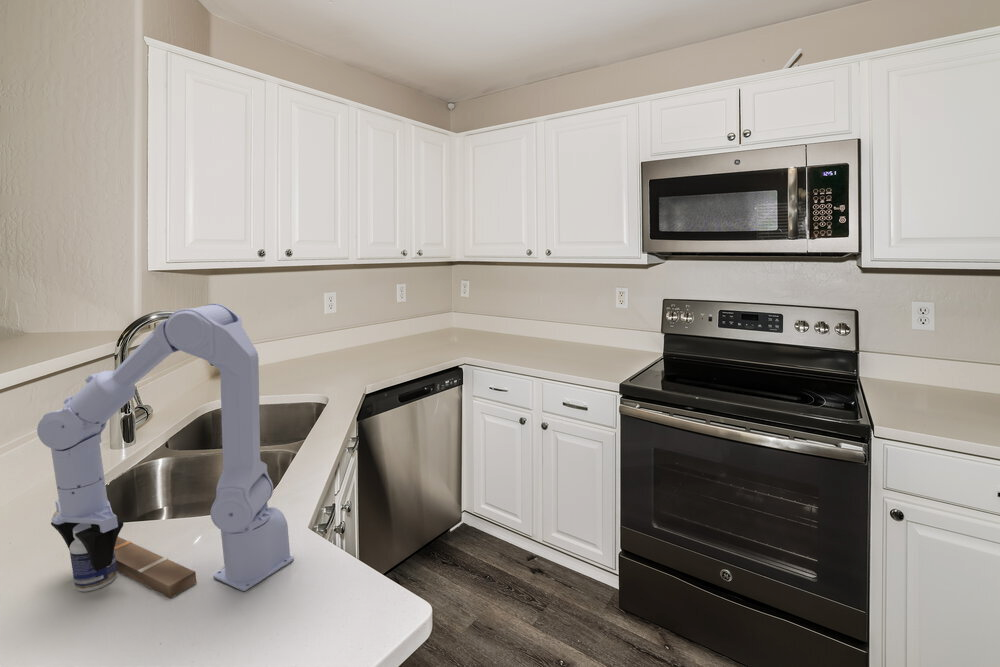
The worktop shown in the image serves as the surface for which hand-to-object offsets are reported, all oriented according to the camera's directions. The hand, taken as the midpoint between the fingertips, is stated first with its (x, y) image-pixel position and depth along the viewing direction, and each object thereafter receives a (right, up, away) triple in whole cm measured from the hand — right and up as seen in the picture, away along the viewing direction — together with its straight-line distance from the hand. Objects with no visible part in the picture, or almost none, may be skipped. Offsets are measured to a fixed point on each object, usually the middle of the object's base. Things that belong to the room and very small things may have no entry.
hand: (92, 561), depth 81 cm
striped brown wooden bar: (+5, -3, +4) cm, 7 cm away
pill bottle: (0, -4, 0) cm, 4 cm away
